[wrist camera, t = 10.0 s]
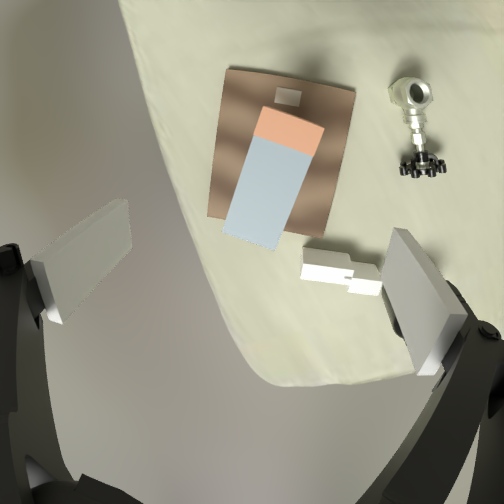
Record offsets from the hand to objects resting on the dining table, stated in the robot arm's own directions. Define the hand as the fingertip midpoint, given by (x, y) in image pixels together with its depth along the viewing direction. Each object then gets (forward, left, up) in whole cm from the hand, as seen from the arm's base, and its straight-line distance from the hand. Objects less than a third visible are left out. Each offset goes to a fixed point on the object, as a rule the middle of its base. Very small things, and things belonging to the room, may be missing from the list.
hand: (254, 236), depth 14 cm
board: (0, 0, -27) cm, 27 cm away
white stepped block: (+14, +12, -27) cm, 33 cm away
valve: (-8, +16, -27) cm, 32 cm away
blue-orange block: (0, 0, -17) cm, 17 cm away
